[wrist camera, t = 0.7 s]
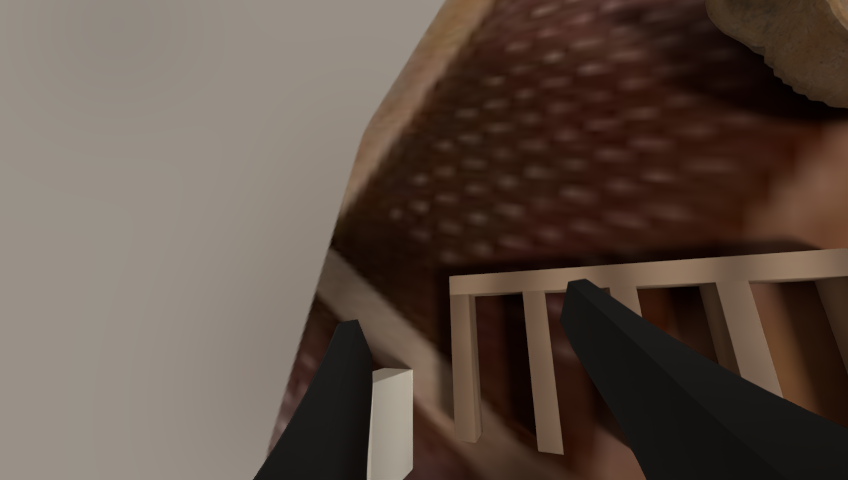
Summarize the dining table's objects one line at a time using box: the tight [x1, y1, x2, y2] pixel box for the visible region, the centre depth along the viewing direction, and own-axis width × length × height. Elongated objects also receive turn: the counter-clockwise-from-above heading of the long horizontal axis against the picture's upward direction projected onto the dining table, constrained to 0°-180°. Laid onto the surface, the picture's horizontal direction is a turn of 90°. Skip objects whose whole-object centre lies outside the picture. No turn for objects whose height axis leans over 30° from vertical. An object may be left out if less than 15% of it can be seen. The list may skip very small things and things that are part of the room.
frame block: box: [367, 368, 413, 480], centre depth 25 cm, size 8×3×7 cm, turn 1°
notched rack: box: [449, 248, 848, 455], centre depth 21 cm, size 26×13×2 cm, turn 91°
